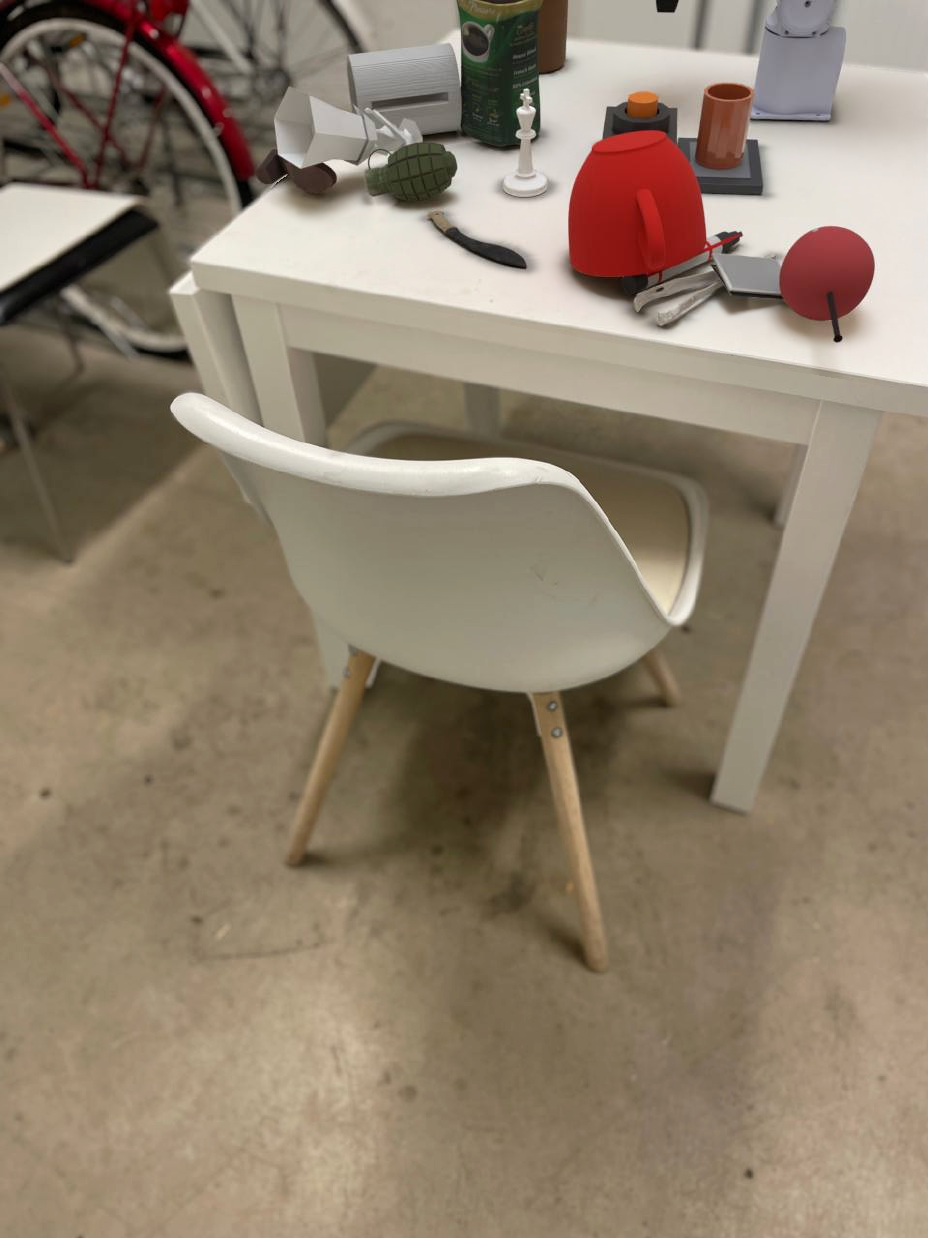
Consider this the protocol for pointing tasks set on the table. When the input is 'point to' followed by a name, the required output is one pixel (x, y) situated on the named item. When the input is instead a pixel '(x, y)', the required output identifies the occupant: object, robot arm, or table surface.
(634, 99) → the button
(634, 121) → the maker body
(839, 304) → the lollipop
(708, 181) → the tray
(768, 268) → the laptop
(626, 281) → the marker
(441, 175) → the grenade
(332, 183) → the heeled mule
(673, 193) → the ceramic cup
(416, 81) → the grey rounded slotted piece
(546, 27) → the mug
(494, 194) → the table surface
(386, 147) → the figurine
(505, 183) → the chess piece
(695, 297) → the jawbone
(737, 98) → the clay cup
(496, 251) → the machete
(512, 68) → the coffee jar
